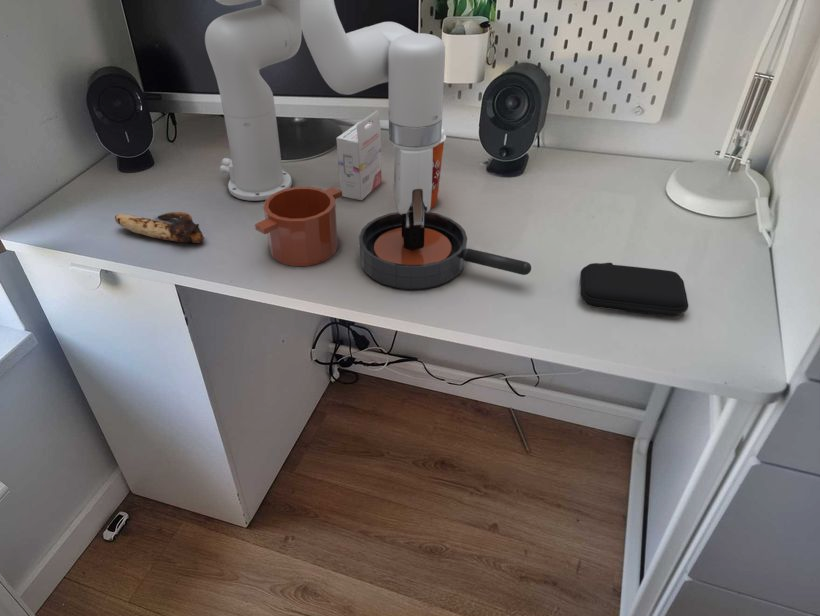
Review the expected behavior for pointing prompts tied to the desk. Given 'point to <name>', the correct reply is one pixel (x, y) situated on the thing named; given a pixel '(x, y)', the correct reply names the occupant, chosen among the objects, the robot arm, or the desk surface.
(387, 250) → the lid
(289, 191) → the pot
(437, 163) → the paper cup
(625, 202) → the desk surface
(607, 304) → the carrying case
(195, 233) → the overripe banana
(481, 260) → the pan handle
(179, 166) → the desk surface
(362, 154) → the ink cartridge box
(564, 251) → the desk surface
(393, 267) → the pan
